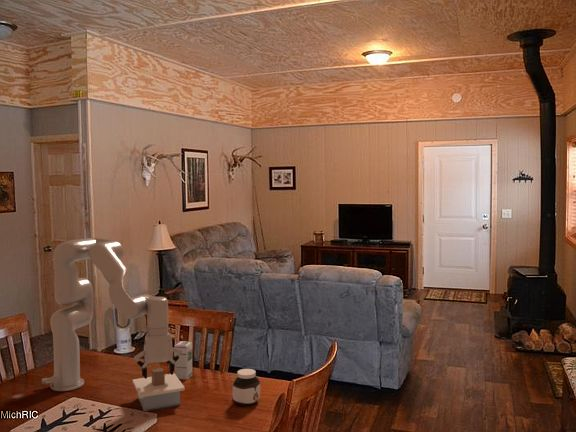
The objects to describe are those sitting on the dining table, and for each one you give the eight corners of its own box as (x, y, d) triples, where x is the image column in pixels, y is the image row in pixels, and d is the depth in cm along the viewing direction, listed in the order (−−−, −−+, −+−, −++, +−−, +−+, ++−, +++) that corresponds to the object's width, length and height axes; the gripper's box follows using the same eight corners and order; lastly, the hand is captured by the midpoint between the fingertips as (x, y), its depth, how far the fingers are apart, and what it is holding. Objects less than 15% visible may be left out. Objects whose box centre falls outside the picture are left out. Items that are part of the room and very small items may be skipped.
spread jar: (243, 409, 191) (243, 378, 190) (223, 400, 199) (223, 370, 198) (266, 399, 200) (267, 369, 199) (246, 391, 207) (246, 362, 207)
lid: (140, 397, 186) (140, 381, 186) (132, 382, 200) (132, 366, 200) (184, 390, 193) (184, 374, 192) (174, 375, 207) (174, 360, 207)
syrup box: (187, 379, 219) (187, 345, 218) (174, 378, 220) (174, 344, 219) (193, 374, 225) (192, 341, 224) (180, 373, 226) (179, 340, 225)
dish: (144, 411, 188) (143, 395, 188) (137, 398, 200) (137, 382, 200) (180, 405, 194) (180, 389, 194) (171, 392, 206) (171, 377, 205)
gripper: (135, 336, 188) (136, 382, 189) (183, 330, 196) (183, 375, 197) (132, 330, 195) (132, 375, 196) (178, 325, 202) (178, 369, 203)
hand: (158, 375), depth 196 cm, fingers open, 9 cm apart
